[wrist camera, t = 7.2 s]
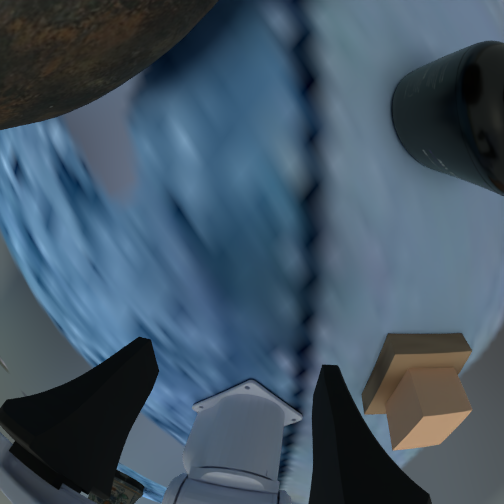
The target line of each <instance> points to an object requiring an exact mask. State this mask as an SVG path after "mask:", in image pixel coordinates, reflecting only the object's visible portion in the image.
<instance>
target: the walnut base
mask: <svg viewBox="0 0 504 504" xmlns="http://www.w3.org/2000/svg"><path fill="white" fill-rule="evenodd" d="M471 352H472V350H471V348H470V346H469V345H468V343H467V341H466V340H465V338H464V336H463V335H462V333H451V334H388V335H387V338H386V340H385V343H384V345H383V348H382V350H381V353H380V355H379V357H378V360H377V362H376V364H375V367H374V369H373V371H372V373H371V376H370V378H369V380H368V382H367V384H366V386H365V388H364V391H363V393H362V401H363V408H364V415H365V414H386V409H385V404H386V403H387V401H388V400H389V398H390V397H391V395H392V394H393V392H394V391H395V389H396V388H397V386H398V384H399V383H400V381H401V380H402V378H403V376H404V375H405V373H406V371H407V370H408V368H450V367H454V368H455V371H456V373H457V375H458V374H459V372H460V371H461V369H462V368H463V366H464V364H465V363H466V361H467V359H468V357H469V356H470V354H471Z"/></svg>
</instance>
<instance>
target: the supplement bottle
mask: <svg viewBox="0 0 504 504" xmlns="http://www.w3.org/2000/svg"><path fill="white" fill-rule="evenodd" d="M392 111H393V120H394V125H395V128H396V131H397V134H398V136H399V138H400V140H401V142H402V144H403V145H404V147H405V148H406V150H407V151H408V152H409V153H410V154H411V155H412V156H413V157H414V158H415V159H416V160H417V161H418V162H420V163H421V164H423V165H424V166H426V167H428V168H431V169H433V170H436V171H439V172H442V173H445V174H448V175H451V176H453V177H456V178H459V179H462V180H465V181H467V182H470V183H473V184H475V185H478V186H480V187H483V188H485V189H488V190H490V191H493V192H495V193H497V194H500V195H502V196H504V43H502V42H499V41H484V42H480V43H477V44H474V45H471V46H469V47H466V48H463V49H461V50H459V51H456V52H454V53H451V54H449V55H447V56H444V57H442V58H440V59H438V60H435V61H433V62H431V63H429V64H426V65H424V66H422V67H420V68H418V69H416V70H414V71H412V72H411V73H409V74H408V75H406V76H405V77H404V78H403V79H402V80H401V82H400V83H399V85H398V87H397V89H396V91H395V94H394V98H393V107H392Z"/></svg>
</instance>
